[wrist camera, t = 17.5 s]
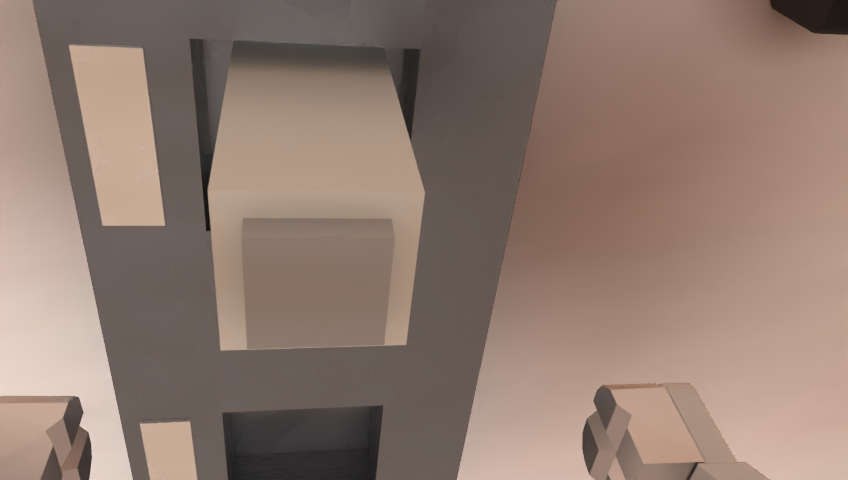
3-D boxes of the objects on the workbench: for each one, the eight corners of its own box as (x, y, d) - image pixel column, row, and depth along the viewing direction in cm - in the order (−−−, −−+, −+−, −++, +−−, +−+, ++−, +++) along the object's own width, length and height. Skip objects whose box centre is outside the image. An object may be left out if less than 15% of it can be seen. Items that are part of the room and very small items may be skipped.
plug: (381, 41, 20) (429, 209, 13) (372, 165, 22) (409, 364, 15) (234, 34, 19) (204, 208, 12) (241, 163, 22) (218, 371, 15)
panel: (541, -128, 19) (579, -104, 16) (431, 487, 34) (442, 548, 31) (42, -175, 16) (-2, -156, 14) (163, 505, 31) (151, 572, 29)
